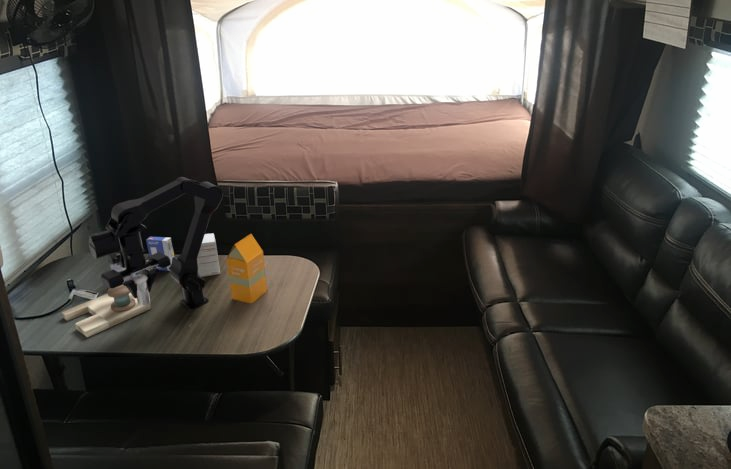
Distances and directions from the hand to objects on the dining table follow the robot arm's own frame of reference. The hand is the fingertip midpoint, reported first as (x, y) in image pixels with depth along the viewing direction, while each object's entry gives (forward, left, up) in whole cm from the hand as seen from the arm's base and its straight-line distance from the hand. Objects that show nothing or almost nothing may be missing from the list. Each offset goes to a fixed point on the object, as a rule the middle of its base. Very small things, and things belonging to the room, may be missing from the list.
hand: (142, 295), depth 166 cm
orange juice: (-12, -29, -9) cm, 33 cm away
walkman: (+26, -21, -9) cm, 35 cm away
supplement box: (+12, -30, -9) cm, 34 cm away
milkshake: (0, 0, -3) cm, 3 cm away
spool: (+10, +2, -7) cm, 12 cm away
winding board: (+13, +6, -9) cm, 17 cm away
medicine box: (+30, -9, -9) cm, 33 cm away
